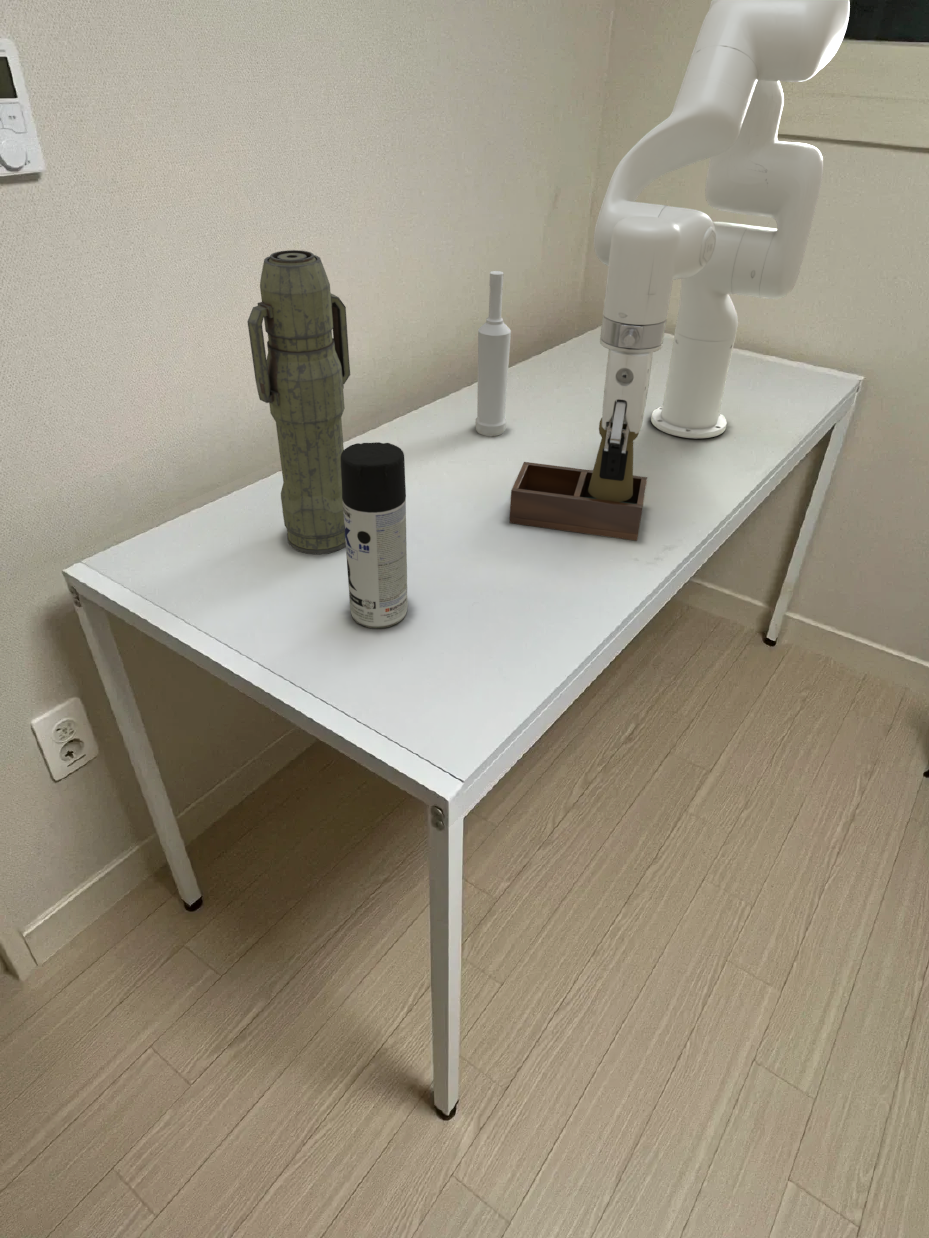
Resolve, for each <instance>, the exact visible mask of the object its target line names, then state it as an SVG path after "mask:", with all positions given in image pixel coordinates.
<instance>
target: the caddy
mask: <svg viewBox="0 0 929 1238" xmlns="http://www.w3.org/2000/svg"><path fill="white" fill-rule="evenodd" d="M592 473H593V469H585V468H578V467H577V468H575V467H568V466H561V465H553V464H545V463H536V462H530V461H529V462H528V461H523V463H522V465H521V468H520V470H519V472H518V474H517V476H516V479H515V481H514V484H513V486H512V488H511V490H510V504H509V518H508V519H509V520H508V521H509V524H514V525H523V526H528V527H536V528H543V529H550V530H557V531H564V532H570V533H571V532H572V533H579V534H586V535H593V536H601V537H607V538H615V539H622V540H628V541H638V539H639V532H640V525H641V520H642V516H643V515H642V513H643V507H644V502H645V496H646V489H647V483H648V477H647V476H642V475H633V496H632V497H631V498H630V499H628V500H626V501H622V502H615V501H607V500H600V499H596V498H594V497H593V496H592V495H590V493H589V492H588V488H589V484H590V481H591V477H592Z"/></svg>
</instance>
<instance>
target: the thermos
mask: <svg viewBox="0 0 929 1238" xmlns="http://www.w3.org/2000/svg"><path fill="white" fill-rule="evenodd" d="M259 291H260V296H261V301H260V302H257V305H256V306H253V307H252V308H251V311H250V314H249V316H248V319H247V329H248V336H249V343H250V350H251V358H252V364H253V365H252V366H253V372H254V380H255V385H256V390H257V394H258V398H259V400H260V401H262V402H264V403H265V404H268V406H269V412H270V415H271V416H272V418H273V420H274V421H275V426H276V435H277V443H278V444H277V445H278V452H279V459H280V465H281V475H282V482H283V483H282V486H281V489H280V490H281V491H280V501H281V509H282V518H283V523H284V528H285V529H286V537H287V544H288V545H289V546H290V547H291V548H292V549H293V550H295V551H297V552H298V553H299V552H300V553H303V554H308V555H325V554H326V555H327V554H331V553H335V552H338V551H340V550H342V549H344V548H346V542H345V528H344V514H343V500H342V479H341V454H342V452H343V450H345V448H344V447H345V446H344V435H343V433H344V432H343V421H342V417H343V414H344V411H345V407H346V406H345V395H344V388H345V384H346V382H347V381H348V379H349V378H350V376H351V365H350V352H349V337H348V323H347V321H348V320H347V307H346V306H345V304H344V302H343V301H342V300H341V299H340V297H339V296H338V295H336V294H334V293H331V283H330V281H329V278H328V274H327V272H326V270H325V267H324V265H323V262H322V259H321V257H320V256H318V255H316V254H314V253H313V252H311V251H307V250H300V249H299V250H298V249H297V250H296V249H292V250H291V249H289V250H280V251H275V252H272V253H270V255H269V256H266V257H265V258H264V259H263V263H262V269H261V274H260V280H259ZM263 322H264V329H265V332H266V334H267V341H266V345H265V338H264V329H263ZM266 347H267V353H266Z"/></svg>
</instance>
